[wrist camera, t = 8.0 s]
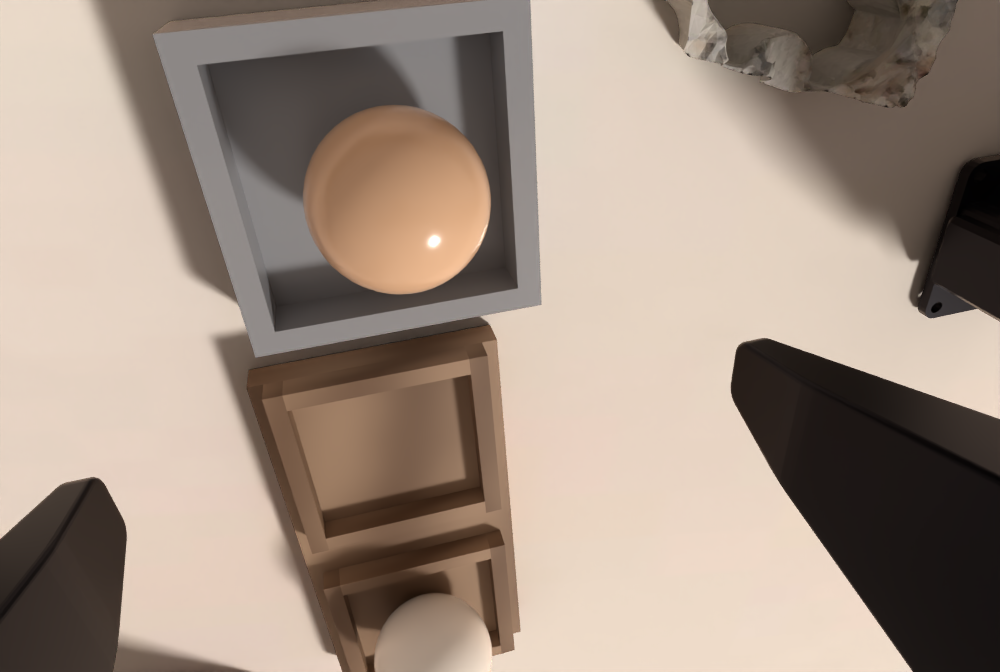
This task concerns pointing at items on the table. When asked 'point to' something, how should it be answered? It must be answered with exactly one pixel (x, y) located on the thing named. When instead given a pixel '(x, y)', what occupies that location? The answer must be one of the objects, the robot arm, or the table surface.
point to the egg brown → (396, 199)
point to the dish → (316, 111)
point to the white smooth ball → (433, 637)
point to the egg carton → (828, 49)
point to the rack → (395, 481)
